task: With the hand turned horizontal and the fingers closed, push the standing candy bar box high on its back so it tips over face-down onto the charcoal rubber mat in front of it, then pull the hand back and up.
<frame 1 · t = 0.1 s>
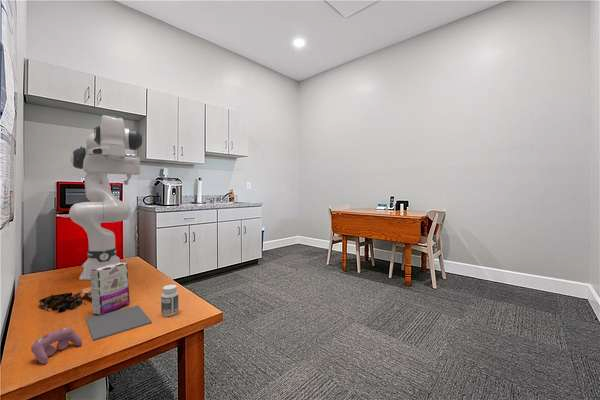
hand: (113, 184, 115), 48 cm above the table, tool pointing down, fingers open, 8 cm apart
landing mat: (118, 321, 91), on the table
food: (79, 301, 108), on the table
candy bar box: (111, 309, 100), on the table, touching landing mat
pill bottle: (169, 313, 98), on the table
video game controller: (57, 353, 73), on the table
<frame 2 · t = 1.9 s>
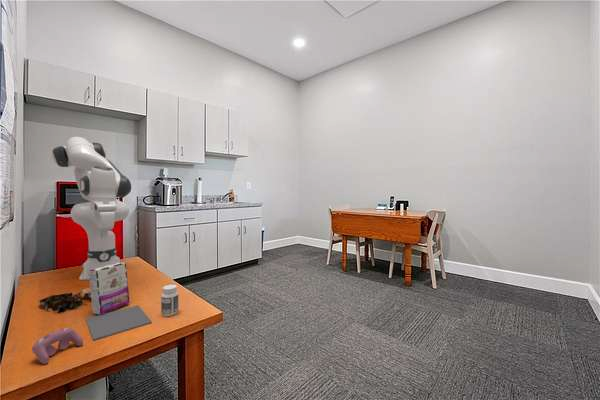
hand: (103, 238, 111), 25 cm above the table, tool pointing down, fingers closed
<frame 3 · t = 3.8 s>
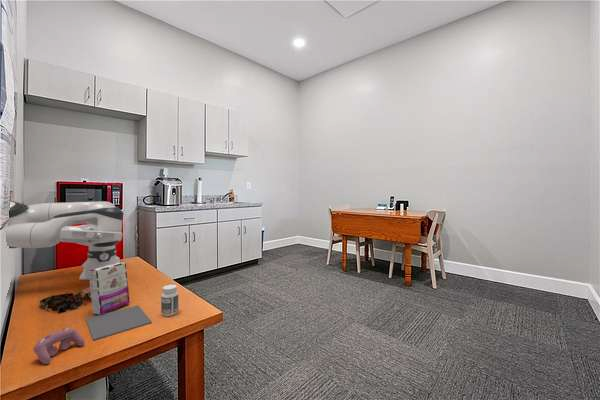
hand: (96, 235, 103), 27 cm above the table, tool horizontal, fingers closed
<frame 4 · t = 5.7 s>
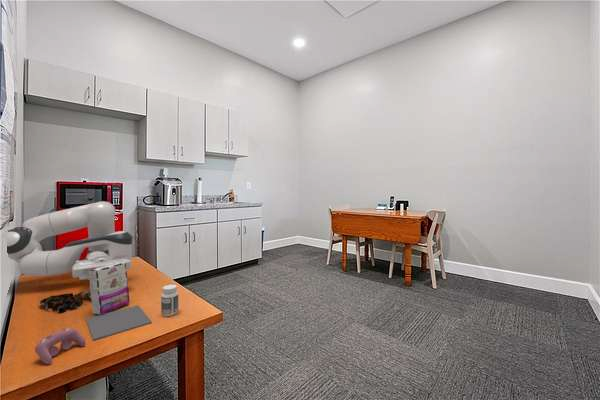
hand: (106, 271, 108), 12 cm above the table, tool horizontal, fingers closed
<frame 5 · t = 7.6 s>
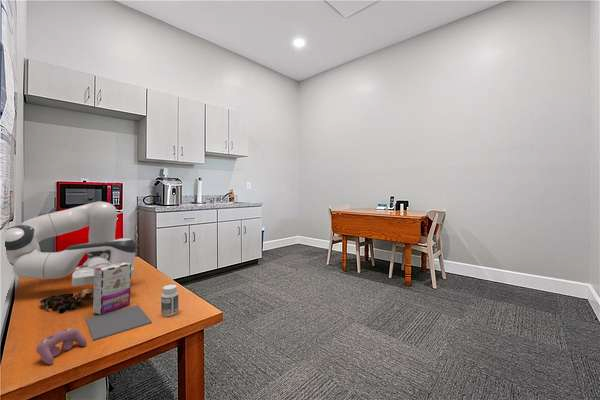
hand: (107, 280, 102), 11 cm above the table, tool horizontal, fingers closed
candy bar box: (111, 309, 100), on the table, touching gripper, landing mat
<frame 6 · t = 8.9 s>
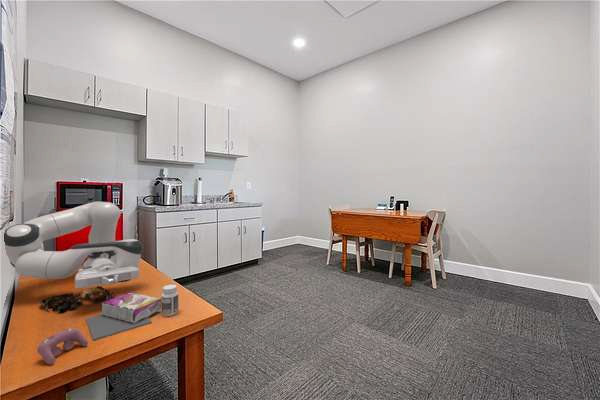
hand: (112, 281, 97), 12 cm above the table, tool horizontal, fingers closed
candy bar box: (115, 302, 99), point 3 cm above the table, touching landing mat
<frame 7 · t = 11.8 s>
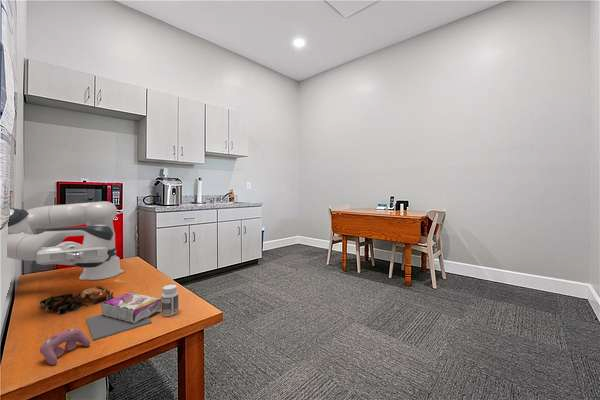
hand: (76, 256, 95), 21 cm above the table, tool horizontal, fingers closed
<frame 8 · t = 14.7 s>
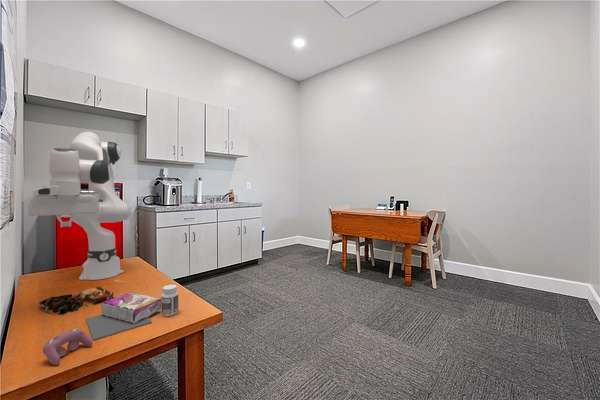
hand: (65, 226, 101), 31 cm above the table, tool pointing down, fingers closed
at the end: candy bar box tilted 91°; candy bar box touching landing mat; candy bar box inside the target area (3.5 cm from its centre), point 2.9 cm above the table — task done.
